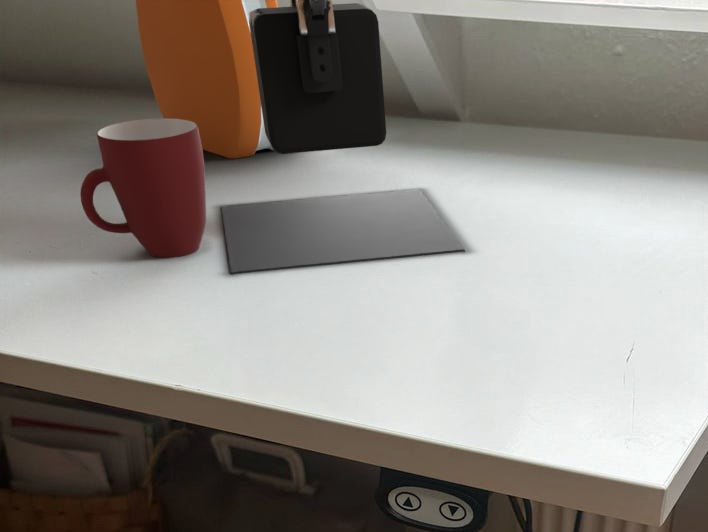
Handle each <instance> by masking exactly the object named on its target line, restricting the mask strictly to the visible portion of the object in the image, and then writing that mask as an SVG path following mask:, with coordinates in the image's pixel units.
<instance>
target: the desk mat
mask: <svg viewBox="0 0 708 532" xmlns="http://www.w3.org/2000/svg"><path fill="white" fill-rule="evenodd" d="M220 207H221V208H220V209H221V214H222V221H223V226H224V227H223V229H224V236H225V243H226V244H225V245H226V250H227V257H228V265H229V272H230V275H239V274H248V273H250V274H251V273H258V272H259V273H260V272H269V271H270V272H271V271H280V270H281V271H282V270H291V269H299V268H309V267H310V268H311V267H322V266H331V265H340V264H341V265H342V264H350V263H351V264H352V263H360V262H361V263H362V262H371V261H382V260H391V259H402V258H412V257H413V258H414V257H423V256H434V255H444V254H455V253H463V252H466V248H465V247H464V246H463V245H462V244H461V242H460V241H459V240H458V238H457V236H455V234H454V232H452V230H451V229H450V227H449V226H448V225H447V223H446V222H445V221H444V219H443V218H442V217H441V215H440V214H439V212H438V211H437V209H436V208H435V207H434V205H432V203H431V202H430V201H429V200H428V198H427V196H425V194H424V193H423V191H422V190H421V189H420V188H416V189H415V188H414V189H405V190H394V191H393V190H392V191H391V190H390V191H380V192H379V191H378V192H368V193H355V194H346V195H345V194H344V195H335V196H322V197H321V196H320V197H309V198H308V197H307V198H299V199H288V200H287V199H285V200H275V201H264V202H263V201H262V202H261V201H260V202H250V203H238V204H228V205H221V206H220Z"/></svg>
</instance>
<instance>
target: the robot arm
mask: <svg viewBox="0 0 708 532" xmlns="http://www.w3.org/2000/svg"><path fill="white" fill-rule="evenodd" d="M289 4H290V5H289V7H294V6H296V7H297V14H298V22H299V29H300V35H297V42H298V50H299V58H300V67H301V75H302V83H303V89H304V90H305V92H307V93H317V92H332V91H340V90H341V89H342V77H341V66H340V56H339V46H338V35H337V33H335V22H334V14H333V6H332V4H333V0H289Z"/></svg>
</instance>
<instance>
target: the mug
mask: <svg viewBox="0 0 708 532" xmlns="http://www.w3.org/2000/svg"><path fill="white" fill-rule="evenodd" d="M96 138H97V142H98V147H99V150H100V155H101V160H102V167H100V168H96V169H95V168H94V169H93V170H91V171H89V172H88V173H87V174H86V175H85V177H84V178H83V181H82V183H81V186H80V195H79V196H80V203H81V207H82V209H83V212H84V214H85V216H86V217H87V218H88V220H89V221H90V222H91V223H92V224H93V225H94V226H96V228H98V229H101V230H102V231H105V232H109V233H115V234H132V235H133V237H134V238H136V240H137V242H139V243H140V245H141V246H142V247H143V248H144V250H145V251H146V252H147V253H148V255H150V256H151V257H154V258H161V259H173V258H175V259H176V258H181V257H186V256H190V255H192V254H195V253H196V252H198V251H199V250H200V246H201V243H202V239H203V237H204V232H205V228H206V223H207V204H206V203H207V200H206V198H207V197H206V169H205V168H206V167H205V158H204V150H203V149H202V145H201V140H200V135H199V131H198V126H197V124H196V123H194V122H192V121H188V120H182V119H168V118H164V117H161V118H143V119H142V118H141V119H137V120H136V119H135V120H128V121H122V122H118V123H112V124H109V125H107V126H104V127H101V128H100V129H99V130H98V131H97V132H96ZM103 183H110V187H111V188H112V190H113V192H114V195H115V197H116V199H117V202H118V204H119V207H120V209H121V212H122V214H123V216H124V219H125V222H121V223H118V222H117V223H115V222H110V221H107V220H105V219H104V218H103V217H102V216H100V214H99V213H98V211H97V210H96V207H95V202H94V194H95V191H96V189H97V188H98V186H99V185H101V184H103Z"/></svg>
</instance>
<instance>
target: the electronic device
mask: <svg viewBox="0 0 708 532" xmlns="http://www.w3.org/2000/svg"><path fill="white" fill-rule="evenodd" d="M332 6H333V14H334V22H335V33H337V35H338V46H339V56H340V66H341V77H342V89H341V90H340V91H332V92H317V93H307V92H305V90H304V89H303V83H302V75H301V67H300V58H299V50H298V42H297V35H300V29H299V22H298V14H297V7H296V6H294V7H291V6H278V7H276V8H258V9H256V10H253V11H251V12H250V13H249V16H250V18H249V25H250V32H251V39H252V46H253V52H254V59H255V66H256V73H257V80H258V87H259V93H260V100H261V107H262V114H263V121H264V128H265V133H266V136H267V138H268V140H269V142H270V144H271V146H272V148H273V149H274V150H275V152H276V153H278V154H282V155H286V154H298V153H310V152H321V151H332V150H334V151H335V150H344V149H357V148H367V147H379V146H381V145H382V144H383V143H384V142H385V140H386V137H387V123H386V109H385V97H384V95H385V94H384V83H383V80H384V79H383V70H382V69H383V67H382V54H381V41H380V40H381V39H380V25H379V19H378V16H377V14H376V13H375V12H374V11H373V9H371V8H369V7H367V6H366V5H364V4H362V3H357V2H351V3H335V4H333V3H332Z"/></svg>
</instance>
